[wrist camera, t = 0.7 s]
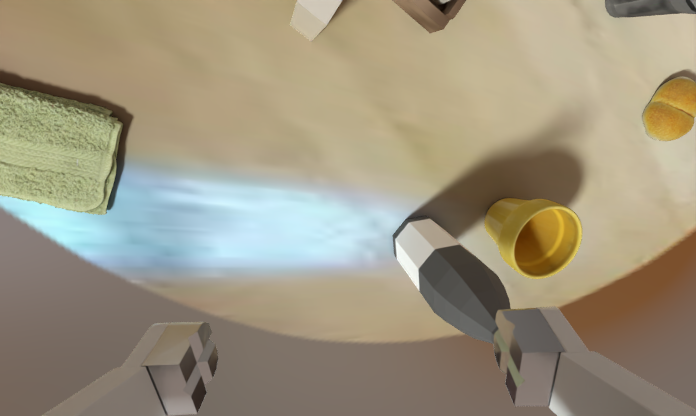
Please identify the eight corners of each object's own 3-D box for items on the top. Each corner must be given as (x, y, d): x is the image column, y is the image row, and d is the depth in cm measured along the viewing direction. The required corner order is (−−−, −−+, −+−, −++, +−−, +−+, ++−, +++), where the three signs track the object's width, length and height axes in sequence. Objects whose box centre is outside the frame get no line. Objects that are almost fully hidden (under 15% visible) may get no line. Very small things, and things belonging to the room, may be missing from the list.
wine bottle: (400, 209, 54) (536, 346, 26) (450, 220, 56) (625, 358, 28) (383, 259, 56) (493, 436, 28) (432, 268, 58) (579, 441, 30)
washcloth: (114, 215, 48) (103, 223, 45) (-58, 179, 43) (-82, 187, 40) (130, 112, 44) (119, 114, 41) (-54, 62, 40) (-80, 60, 37)
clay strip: (289, 25, 44) (296, 1, 31) (313, -14, 43) (330, -55, 30) (311, 41, 45) (326, 25, 32) (334, 3, 44) (360, -29, 31)
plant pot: (545, 222, 59) (595, 247, 50) (492, 261, 60) (531, 294, 51) (517, 171, 56) (565, 189, 47) (461, 214, 56) (497, 240, 47)
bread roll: (629, 128, 57) (654, 131, 53) (664, 70, 55) (692, 69, 52) (665, 148, 60) (691, 153, 56) (700, 94, 58) (729, 94, 54)
